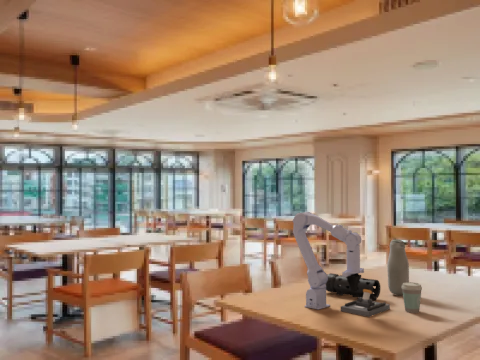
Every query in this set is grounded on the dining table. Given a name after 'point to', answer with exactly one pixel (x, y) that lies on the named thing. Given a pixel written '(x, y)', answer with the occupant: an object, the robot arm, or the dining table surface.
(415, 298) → the coffee cup
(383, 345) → the dining table surface
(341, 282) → the muzzle brake
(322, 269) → the robot arm
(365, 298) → the breaker lever
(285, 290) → the dining table surface
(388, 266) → the grey bottle
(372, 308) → the breaker panel
